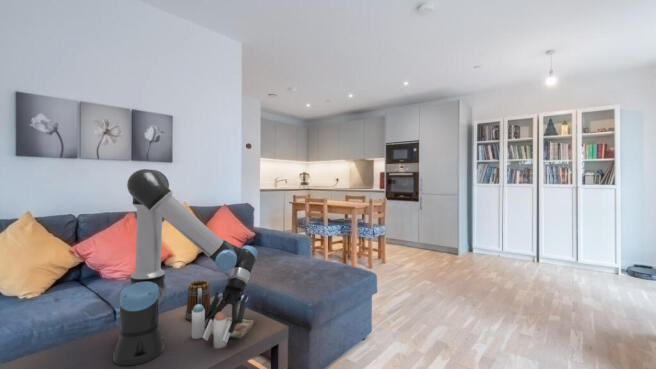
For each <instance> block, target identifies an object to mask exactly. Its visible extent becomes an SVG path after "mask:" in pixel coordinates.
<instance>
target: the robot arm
mask: <svg viewBox="0 0 656 369" xmlns="http://www.w3.org/2000/svg"><path fill="white" fill-rule="evenodd" d="M126 186H127V187H126V188H127V190H128V193H129V194H130V196H131V197H132V206H134V207H135V209H136V233H135V234H136V235H135V237H136V238H135V240H136V242H135V245H136V246H135V271H133V273H131V274H130V285H126V287H124V288H123V289H122V291H121V292H120V295H119V299H118V300H119V301H118V302H119V336H118V339H117V342H116V346H115V348H114V350H113V362H114V364H116V365H119V366H123V367H124V366H126V367H127V366H136V365H140V364H144V363H147V362H149V361H152V360H154V359H155V358H158V356H160V355H161V354H162V353H163V351H164V348H165V342H164V339H163V337H162V334H161V331H160V328H159V327H160V326H159V318H160V317H159V316H160V314H159V312H160V310H159V309H160V306H161V303H162V302H163V298H164V297H165V294H166V291H167V285H166V284H167V283H166V280H165V279H166V277H165V276H166V271H164V269H162V267H161V266H162V232H163V230H162V228H163V219H164V220H165V221H166V222H167V223H169V225H171V226H172V227H173V228H174V229H175V230H177V231H178V232H179V233H180V234H182V236H183V237H185V238H186V239H187V240H189V242H191V243H192V244H193V245H194V246H196V248H198V249H199V250H200V251H201V252H202V253H204V254H205V255H206V256H207V257H208V258H209V259H210V260H211V261H212V262H213V263H215V265H216V267H217V268H218V269H219V270H220V271H224V272H226V271H230V270H231V273H230V275H229V279H228V281H227V283H226V285H225V289H224V291H222V292H220V293H219V292H215V293H214V294H215V295H214V299H213V300H212V302H210V307H209V309H208V310H207V312H206V314H205V317H206V318H207V319H206V320H207V321H206V324H205V328H204V329H206V330H205V333H204V335H203V337H202V338H203V339H204V340H205V341H208V340H209V337H210V336H211V335H210V333H211V331H212V328H213V326H214V318H215V315H216V314H217V313H218V312H223V311H222V310H223V309H224V308H225V307H227V306H228V305H231V318H232V320H231V321H232V322H229V324H228V326H227V329H226V332H225V334H224V337H223V340H222V341H223V342H225V343H227V344H228V341H229V338H230V337H229V336H230V334H231V333H233V331H234V329H235V326H236V324H238V323H242V320H243V319H244V315H245V310H246V307H247V304H248V302H249V300H250V299H249V297H248V296H247V295H246V294H245V295H244V293H245V290H246V288H247V284H248V282H249V279H250V276H251V274H252V271H253V269H254V265H255V264H256V262H257V257H258V254H259V253H258V250H257V249H256V248H255V247H254V246H252V245H251V246H250V245H248V244H247V245H243V246H242V247H239V246H237V245H234V244H233V243H231V242H228V241H227V240H225V239H223V238H220V237H218V235H216V233H214V232H213V231H212V230H211V229H210V228H208V226H207V225H205V223H203V222H202V221H201V220H200V219H199V218H198V217H197V216H196V215H194V214H193V213H192V212H191V211H189V209H187V208H186V206H184V205H183V204H182V203H181V202H180V201H179V200H178V199H177V198H175V197H174V196H173V191H172V190H171V189H170V184H169V179H168V178H167V176H166V175H165V174H164V173H162V171H159V170H157V169H148V168H143V169H139V170H136V171H133V173H132V174H131V175H130V176H129V178H128V179H127V184H126ZM240 300H241V301H240ZM239 301H240V305H239ZM238 307H239V309H238Z"/></svg>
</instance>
